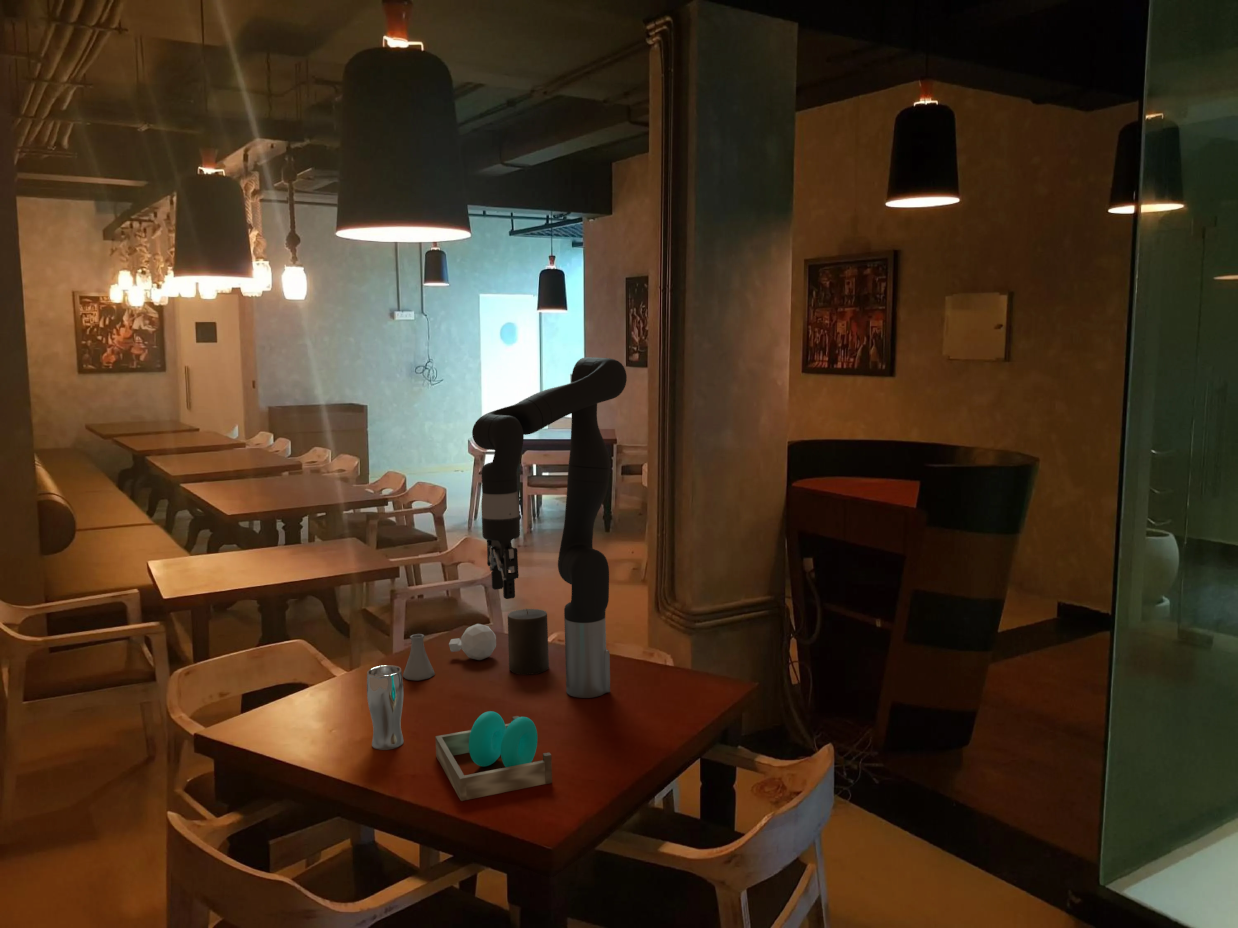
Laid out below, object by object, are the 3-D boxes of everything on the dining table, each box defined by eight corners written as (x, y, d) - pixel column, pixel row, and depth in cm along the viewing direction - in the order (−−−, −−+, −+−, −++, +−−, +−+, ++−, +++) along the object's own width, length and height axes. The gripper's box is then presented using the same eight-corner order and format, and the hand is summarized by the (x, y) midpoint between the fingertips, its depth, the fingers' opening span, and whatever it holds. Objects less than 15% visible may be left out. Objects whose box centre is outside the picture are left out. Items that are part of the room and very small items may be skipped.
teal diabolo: (496, 752, 182) (494, 702, 180) (541, 761, 177) (539, 710, 176) (466, 773, 173) (464, 721, 171) (513, 783, 168) (511, 729, 167)
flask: (420, 669, 231) (418, 629, 230) (440, 674, 227) (438, 634, 225) (397, 677, 225) (395, 637, 224) (417, 683, 221) (415, 642, 220)
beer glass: (372, 753, 182) (368, 678, 180) (367, 740, 188) (363, 667, 187) (408, 747, 185) (405, 673, 183) (402, 734, 191) (398, 662, 189)
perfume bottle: (503, 644, 243) (459, 649, 245) (495, 615, 239) (450, 619, 241) (496, 665, 235) (450, 669, 237) (487, 635, 231) (441, 639, 233)
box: (519, 740, 187) (518, 715, 186) (552, 782, 168) (551, 754, 168) (436, 755, 180) (435, 729, 180) (461, 801, 162) (459, 772, 161)
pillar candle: (536, 677, 224) (534, 615, 222) (501, 671, 228) (499, 611, 226) (556, 664, 232) (554, 605, 230) (522, 659, 236) (520, 601, 235)
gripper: (529, 518, 184) (531, 599, 186) (508, 507, 197) (511, 583, 199) (491, 521, 181) (494, 604, 183) (473, 510, 194) (476, 587, 196)
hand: (503, 593), depth 191 cm, fingers open, 8 cm apart
